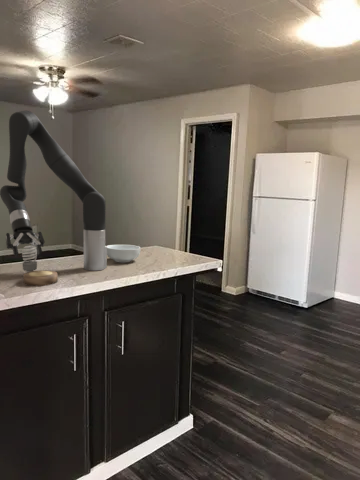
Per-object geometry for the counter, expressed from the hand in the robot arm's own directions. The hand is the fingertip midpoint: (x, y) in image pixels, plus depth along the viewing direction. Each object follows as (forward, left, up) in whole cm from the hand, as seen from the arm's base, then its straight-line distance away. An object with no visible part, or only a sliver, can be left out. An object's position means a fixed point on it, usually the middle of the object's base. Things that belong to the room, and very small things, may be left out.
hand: (28, 254), depth 156 cm
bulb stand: (+4, +12, -8) cm, 15 cm away
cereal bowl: (-46, +11, -8) cm, 48 cm away
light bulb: (0, +1, -8) cm, 9 cm away
